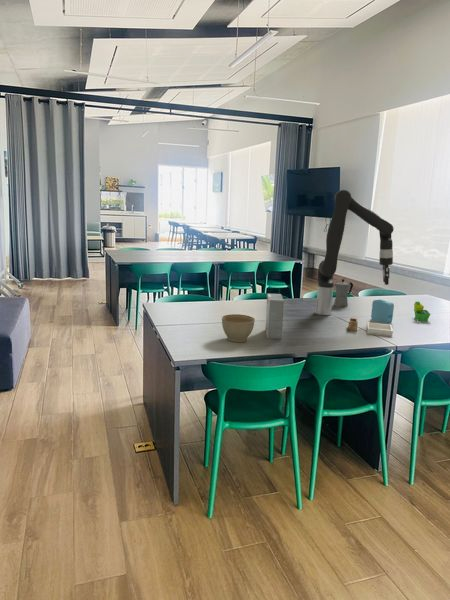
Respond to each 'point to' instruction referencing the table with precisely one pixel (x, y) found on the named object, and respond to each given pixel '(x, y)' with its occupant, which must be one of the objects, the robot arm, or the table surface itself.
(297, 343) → the table surface
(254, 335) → the table surface
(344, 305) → the coffeepot
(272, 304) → the hard drive box
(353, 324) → the small crate
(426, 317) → the fruit basket
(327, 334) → the table surface
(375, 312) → the blue rounded block
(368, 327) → the large crate
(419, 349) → the table surface
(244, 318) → the planter bowl
